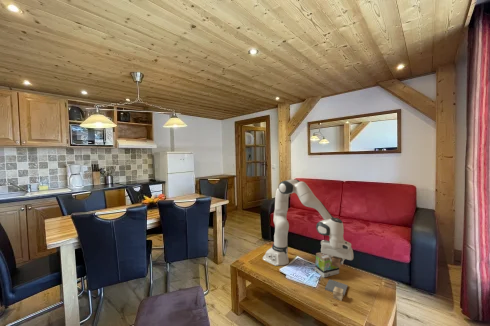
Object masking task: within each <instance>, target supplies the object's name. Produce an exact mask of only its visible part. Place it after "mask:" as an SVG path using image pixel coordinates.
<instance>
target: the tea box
mask: <svg viewBox="0 0 490 326" xmlns="http://www.w3.org/2000/svg"><path fill="white" fill-rule="evenodd" d="M331 257H333V256H331ZM315 270H316V271H317V272H318V273H320V274H321V275H320V274H319V275H320V276H321V277H322V278H327V277H330V276H334V275H335V276H336V275H339V274H340V268H339V267H336V266H332V262H331V261H330V258H329V255H327V254H323V253H322V252H321V251H320V252H316V253H315V266H314V271H315ZM316 271H315V272H316ZM317 272H316V273H317ZM318 273H317V274H318Z"/></svg>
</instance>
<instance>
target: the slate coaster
mask: <svg viewBox="0 0 490 326" xmlns="http://www.w3.org/2000/svg"><path fill="white" fill-rule="evenodd" d="M335 287H338V288H341V289H343V297H345V295H346V293H347V290H348V284H345V283H343V282H340V281H337V280H333V279H328V281H327V283H326V284H325V287H324V290H325V291H328V292H331V293H333V290H334V288H335Z"/></svg>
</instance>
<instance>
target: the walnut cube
mask: <svg viewBox="0 0 490 326" xmlns="http://www.w3.org/2000/svg"><path fill="white" fill-rule="evenodd" d="M340 261H342V258H339V257H335V256H333V257H332V266H336V267H339V269H340V268H341V266H342V264H340Z"/></svg>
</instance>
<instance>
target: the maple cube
mask: <svg viewBox="0 0 490 326" xmlns="http://www.w3.org/2000/svg"><path fill="white" fill-rule="evenodd" d="M332 296H333V297H332V298H333V299H335V300H337V301H340V302H342V301H343V298H344V296H343V289H341V288H338V287H335V288H334V290H333V292H332Z"/></svg>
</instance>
